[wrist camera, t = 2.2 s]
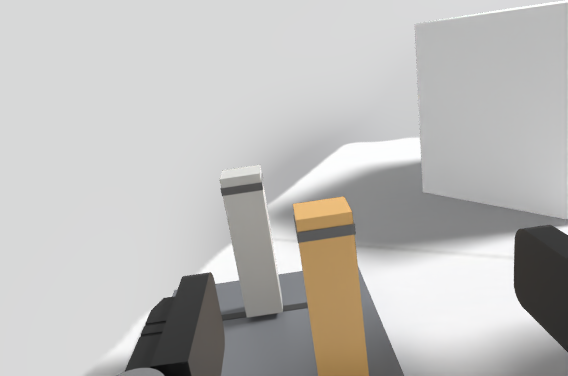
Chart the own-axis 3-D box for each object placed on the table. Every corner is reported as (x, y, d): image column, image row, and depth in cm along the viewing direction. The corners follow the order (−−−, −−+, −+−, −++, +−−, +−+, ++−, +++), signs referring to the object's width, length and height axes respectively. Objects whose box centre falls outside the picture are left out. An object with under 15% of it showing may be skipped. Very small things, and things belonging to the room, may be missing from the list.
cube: (503, 152, 82) (505, 9, 74) (649, 166, 66) (671, -15, 58) (422, 194, 68) (414, 23, 60) (583, 226, 52) (599, -3, 44)
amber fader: (362, 365, 30) (344, 195, 26) (371, 393, 27) (353, 211, 24) (316, 371, 30) (291, 203, 26) (321, 401, 27) (295, 220, 24)
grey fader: (282, 295, 39) (260, 164, 36) (283, 312, 37) (260, 173, 33) (247, 300, 39) (221, 170, 36) (246, 318, 37) (218, 179, 33)
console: (359, 289, 45) (356, 262, 44) (442, 505, 24) (440, 462, 23) (181, 316, 45) (174, 289, 44) (109, 554, 24) (93, 513, 23)
